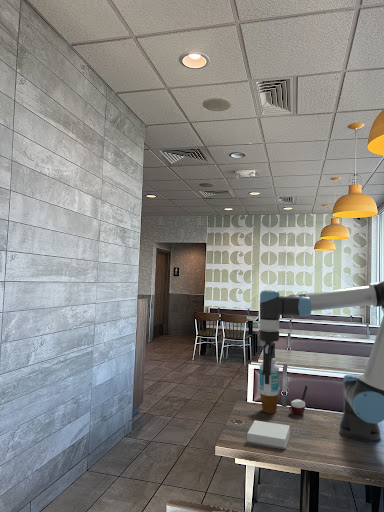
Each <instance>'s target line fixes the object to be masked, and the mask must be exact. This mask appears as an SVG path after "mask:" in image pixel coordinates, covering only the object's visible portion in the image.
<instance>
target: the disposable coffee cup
mask: <svg viewBox="0 0 384 512" xmlns="http://www.w3.org/2000/svg"><path fill="white" fill-rule="evenodd" d="M279 390H281V387H279ZM260 399H261V400H260V401H261V408H262V412H263V413H265V414H266V413H267V414H275V413H276V412H277V409H278V408H277V407H278V402H279V401H278V400H279V394H278V395H275V396H267V395H263V394H261V393H260Z"/></svg>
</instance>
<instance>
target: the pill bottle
mask: <svg viewBox="0 0 384 512" xmlns="http://www.w3.org/2000/svg"><path fill="white" fill-rule="evenodd" d="M262 373H263V363H261V364H260V365H259V385H258V388H259V389H258V390H259V393H260V395H261V394H263V395H267V396H275V395H278V396H279V393H280V389H279V388H280V366H278V364H277V363H276V357H275V358H272V359H271V393H267V392H264V375H262Z"/></svg>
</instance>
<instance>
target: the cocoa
mask: <svg viewBox="0 0 384 512" xmlns="http://www.w3.org/2000/svg"><path fill="white" fill-rule="evenodd" d="M308 388H309V386H308V385H305V386H304V390H303V393H302V396H301V399H294V400H292V401H290V406H289V408H288V410H289V411H290V412H291V413H292V414H294V415H296V416H297V415H298V416H301V415H303V414H304V413H305V410H306V402H305V399H306V394H307V392H308Z"/></svg>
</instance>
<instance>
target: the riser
mask: <svg viewBox="0 0 384 512" xmlns="http://www.w3.org/2000/svg"><path fill="white" fill-rule="evenodd" d="M290 428H291V426H290V425H288V424H283V423H275V422H268V421H262V420H261V421H260V420H253V423H252V425H251V426H250V428H249V430H248V431H247V433H246V436H247V437H246V439H247V440H246V444H250V443H251V444H250V445H256V446H257V445H258V446H263V447H268V448H275V449H281V450H287V446H288V444H289V443H288V442H289V441H290V437H291V429H290Z"/></svg>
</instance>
